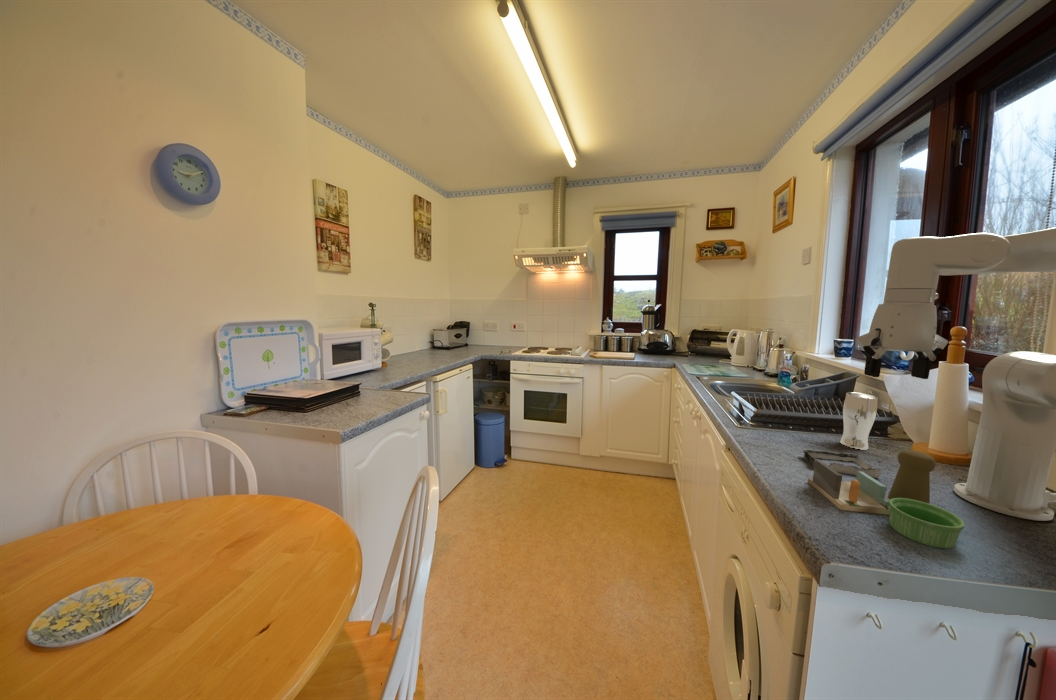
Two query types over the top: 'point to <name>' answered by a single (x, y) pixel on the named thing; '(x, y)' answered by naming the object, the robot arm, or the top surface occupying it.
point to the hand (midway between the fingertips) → (895, 376)
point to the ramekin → (925, 522)
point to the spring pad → (872, 487)
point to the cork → (913, 476)
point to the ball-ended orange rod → (854, 491)
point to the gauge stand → (843, 491)
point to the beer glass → (858, 419)
